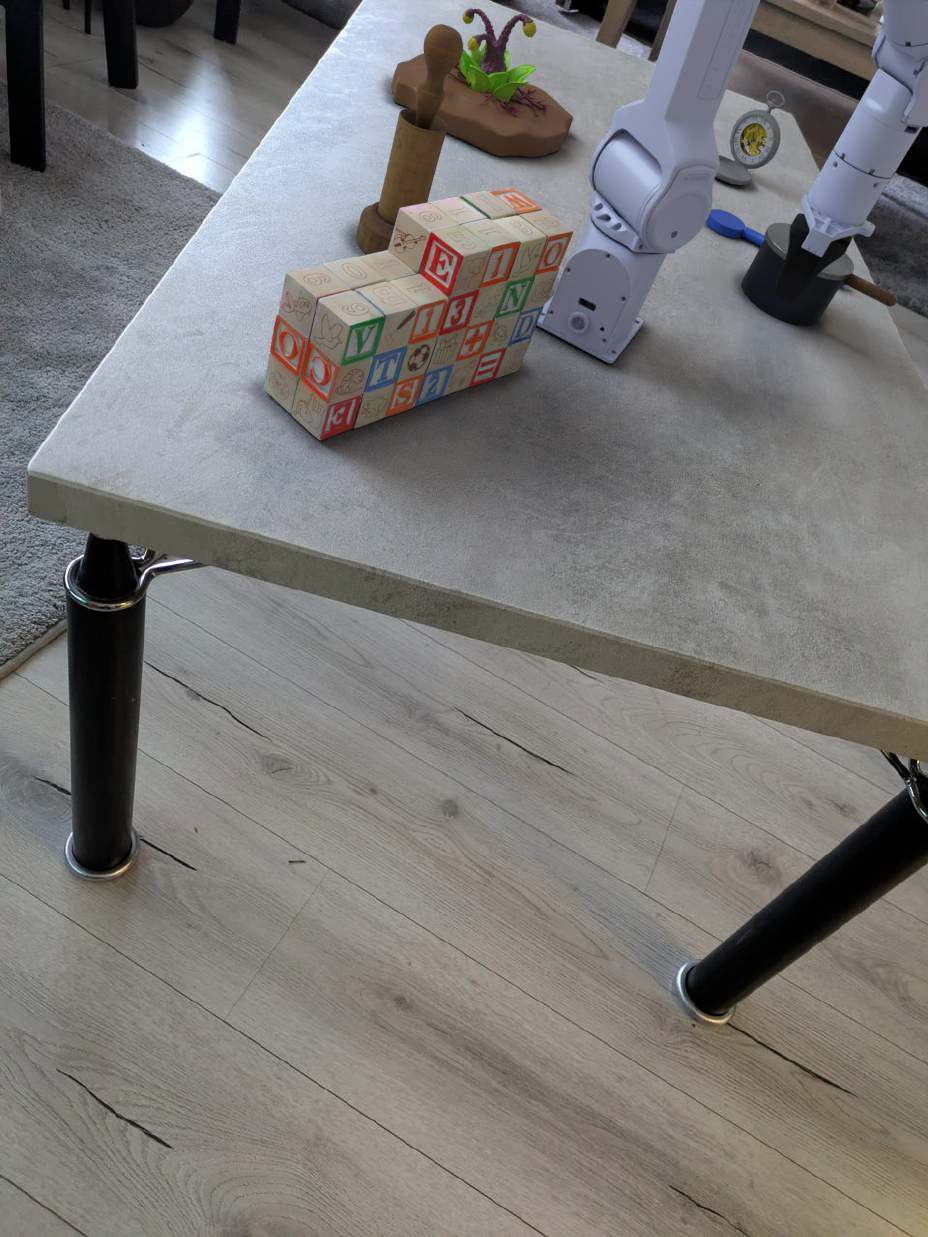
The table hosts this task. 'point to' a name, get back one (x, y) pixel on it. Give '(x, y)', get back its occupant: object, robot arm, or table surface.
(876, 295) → the pot
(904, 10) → the robot arm
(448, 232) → the stack of blocks
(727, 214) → the spoon
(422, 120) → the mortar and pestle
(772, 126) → the pocket watch
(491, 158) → the table surface
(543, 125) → the plant
